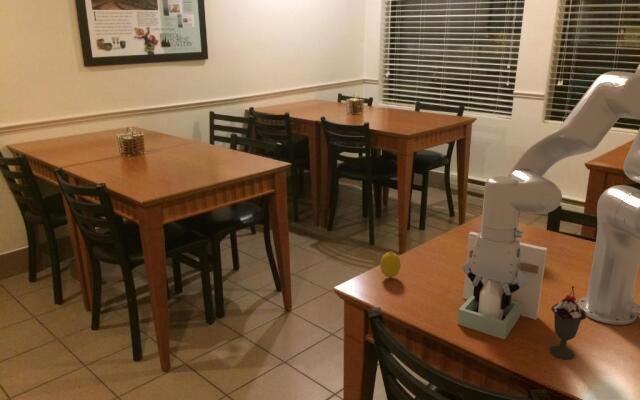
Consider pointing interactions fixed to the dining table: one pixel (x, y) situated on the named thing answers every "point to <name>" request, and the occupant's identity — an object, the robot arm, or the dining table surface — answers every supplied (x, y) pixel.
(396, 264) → the lemon
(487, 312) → the white bottle
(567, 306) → the sundae
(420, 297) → the dining table surface
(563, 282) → the dining table surface
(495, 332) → the wall holder
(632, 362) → the dining table surface
